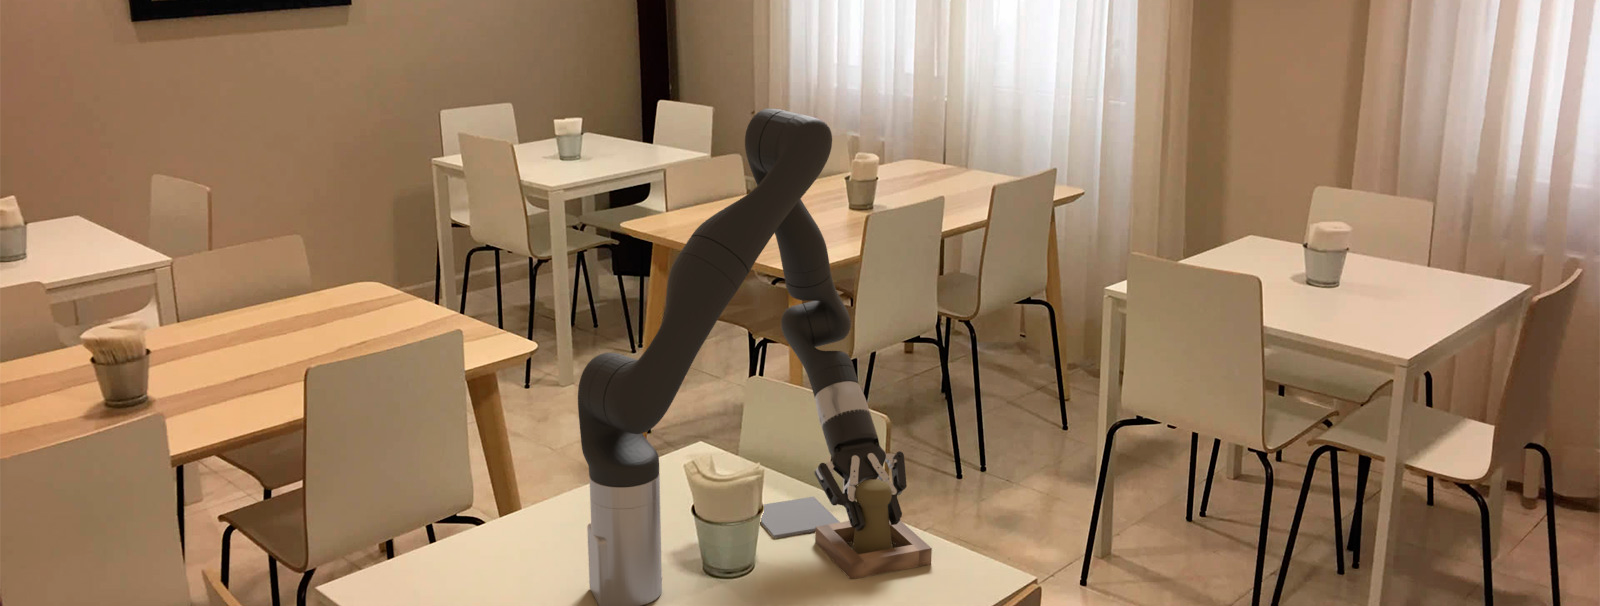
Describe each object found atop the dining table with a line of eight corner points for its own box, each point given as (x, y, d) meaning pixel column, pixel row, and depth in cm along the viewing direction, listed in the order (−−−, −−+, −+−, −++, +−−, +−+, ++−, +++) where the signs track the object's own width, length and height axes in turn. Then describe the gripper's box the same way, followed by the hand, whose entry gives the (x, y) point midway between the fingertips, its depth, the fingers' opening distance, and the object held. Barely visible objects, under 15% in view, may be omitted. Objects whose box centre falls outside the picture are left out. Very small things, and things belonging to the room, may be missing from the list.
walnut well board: (850, 579, 180) (850, 562, 179) (815, 542, 191) (815, 526, 190) (931, 564, 184) (931, 548, 184) (892, 528, 196) (892, 513, 195)
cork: (890, 564, 184) (892, 492, 181) (848, 560, 185) (849, 488, 182) (895, 546, 190) (897, 476, 187) (854, 542, 191) (856, 472, 188)
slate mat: (774, 538, 192) (774, 535, 192) (748, 509, 202) (748, 506, 202) (841, 526, 196) (841, 523, 196) (813, 499, 206) (813, 496, 206)
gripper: (808, 413, 187) (840, 524, 179) (897, 401, 192) (932, 508, 184) (794, 436, 193) (825, 543, 185) (880, 423, 198) (914, 527, 190)
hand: (878, 525), depth 185 cm, fingers closed on cork, 5 cm apart
